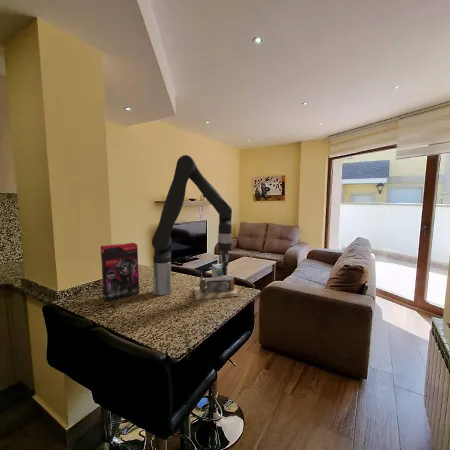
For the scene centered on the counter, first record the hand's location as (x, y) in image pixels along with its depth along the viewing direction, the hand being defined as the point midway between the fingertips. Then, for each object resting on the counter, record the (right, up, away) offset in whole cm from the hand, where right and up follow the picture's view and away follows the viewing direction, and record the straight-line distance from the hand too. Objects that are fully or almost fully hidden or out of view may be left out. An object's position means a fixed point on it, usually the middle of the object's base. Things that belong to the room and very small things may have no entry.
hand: (224, 273), depth 136 cm
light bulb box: (-3, -10, +19) cm, 21 cm away
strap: (-4, -4, 0) cm, 5 cm away
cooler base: (-5, -11, 0) cm, 12 cm away
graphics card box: (-54, -11, -5) cm, 55 cm away
